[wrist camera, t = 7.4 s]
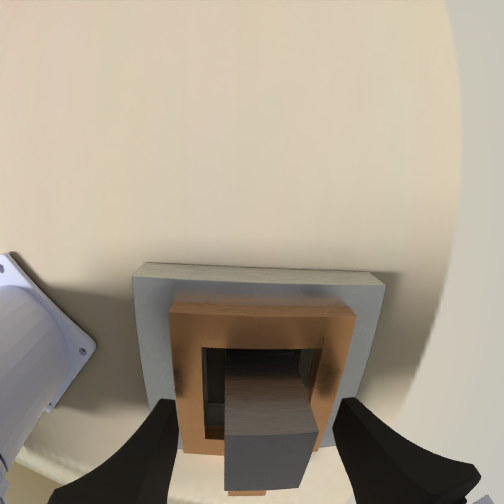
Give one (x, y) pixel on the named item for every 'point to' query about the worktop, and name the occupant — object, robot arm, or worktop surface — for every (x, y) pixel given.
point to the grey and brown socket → (251, 336)
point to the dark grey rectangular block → (265, 421)
